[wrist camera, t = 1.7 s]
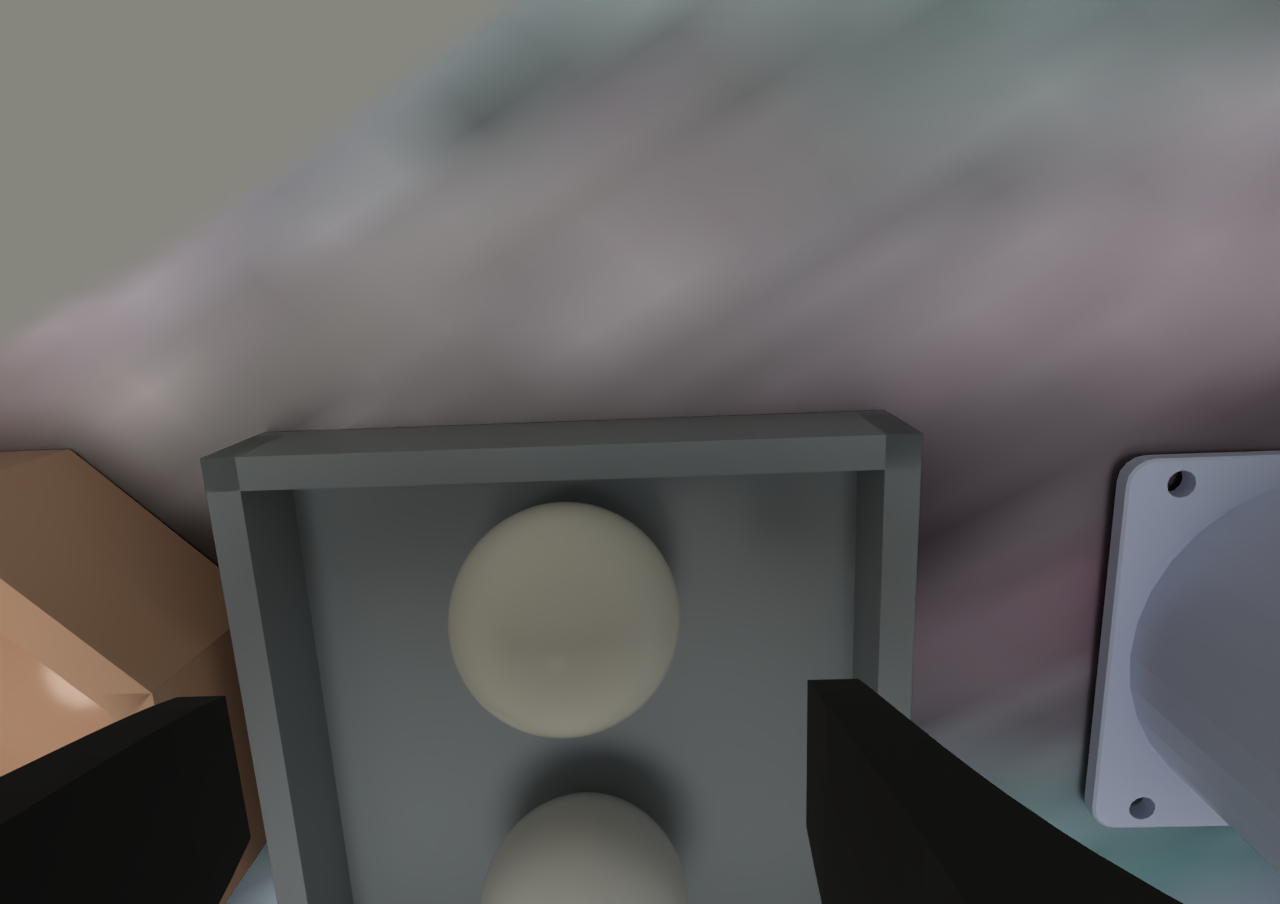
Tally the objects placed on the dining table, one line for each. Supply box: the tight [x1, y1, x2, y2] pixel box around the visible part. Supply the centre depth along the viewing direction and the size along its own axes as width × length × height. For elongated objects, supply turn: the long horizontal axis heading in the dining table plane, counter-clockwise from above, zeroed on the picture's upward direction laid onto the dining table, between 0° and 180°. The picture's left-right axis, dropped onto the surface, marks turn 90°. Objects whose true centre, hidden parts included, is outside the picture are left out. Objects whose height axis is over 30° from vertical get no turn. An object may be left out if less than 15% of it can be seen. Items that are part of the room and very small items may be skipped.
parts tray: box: [200, 410, 923, 904], centre depth 15 cm, size 12×12×2 cm
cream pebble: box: [447, 502, 680, 739], centre depth 13 cm, size 4×4×4 cm
